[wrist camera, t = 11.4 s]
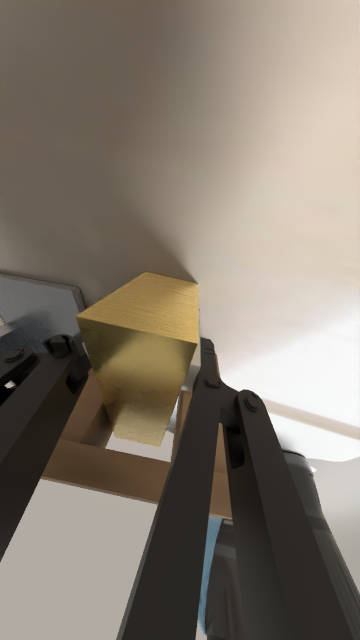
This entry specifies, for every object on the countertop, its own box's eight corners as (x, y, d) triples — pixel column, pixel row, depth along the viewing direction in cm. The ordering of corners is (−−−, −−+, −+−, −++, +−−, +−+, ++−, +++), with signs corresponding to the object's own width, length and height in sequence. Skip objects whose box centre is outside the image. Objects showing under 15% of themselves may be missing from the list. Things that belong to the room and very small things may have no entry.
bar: (172, 379, 21) (159, 447, 14) (142, 372, 21) (115, 437, 14) (198, 283, 12) (197, 343, 5) (145, 271, 12) (75, 316, 5)
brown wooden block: (204, 380, 20) (211, 516, 10) (117, 363, 20) (42, 479, 10) (216, 354, 16) (242, 520, 7) (111, 334, 17) (-7, 465, 7)
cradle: (106, 375, 22) (88, 402, 18) (46, 363, 22) (16, 388, 19) (79, 287, 13) (33, 306, 10) (-19, 269, 14) (-101, 281, 10)
